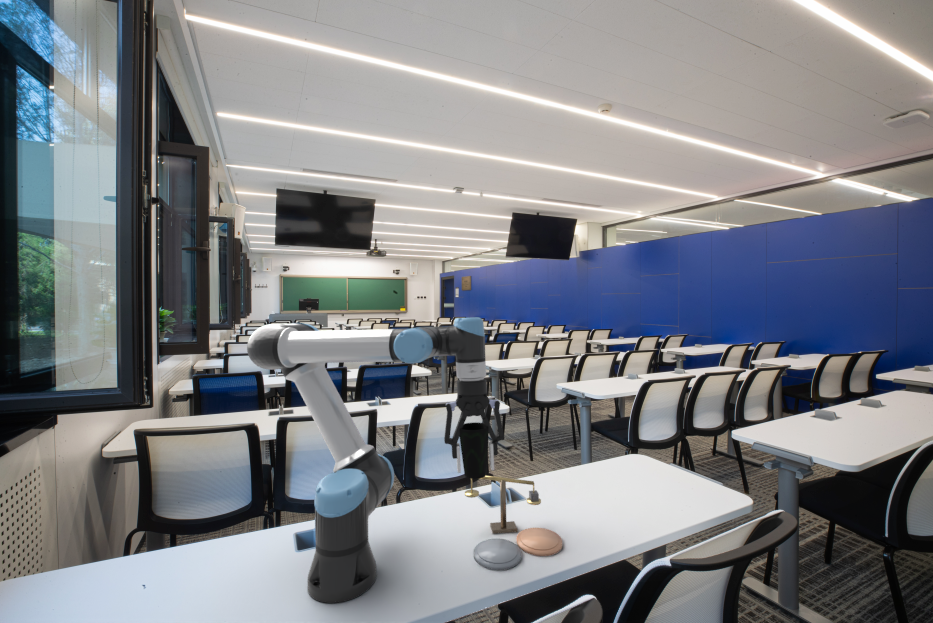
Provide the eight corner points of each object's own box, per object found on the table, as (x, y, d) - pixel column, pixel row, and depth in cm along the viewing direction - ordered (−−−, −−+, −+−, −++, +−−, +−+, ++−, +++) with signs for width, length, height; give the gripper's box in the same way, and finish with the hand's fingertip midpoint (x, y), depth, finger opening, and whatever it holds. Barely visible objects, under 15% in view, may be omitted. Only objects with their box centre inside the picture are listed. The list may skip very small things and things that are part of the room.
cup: (488, 481, 96) (485, 430, 96) (457, 479, 98) (455, 430, 98) (493, 469, 104) (490, 422, 104) (464, 468, 105) (462, 422, 106)
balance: (466, 535, 110) (465, 477, 111) (464, 528, 114) (463, 471, 115) (543, 530, 113) (542, 472, 113) (539, 522, 117) (538, 467, 117)
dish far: (522, 558, 100) (522, 553, 100) (512, 532, 112) (512, 528, 112) (569, 554, 101) (569, 549, 101) (553, 529, 113) (553, 525, 113)
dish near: (476, 572, 95) (476, 566, 95) (471, 543, 107) (470, 539, 107) (526, 567, 96) (526, 562, 96) (515, 540, 108) (515, 535, 108)
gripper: (430, 383, 97) (434, 478, 96) (514, 378, 98) (518, 472, 98) (430, 378, 104) (434, 467, 104) (508, 374, 106) (512, 461, 105)
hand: (475, 469), depth 101 cm, fingers closed on cup, 8 cm apart
